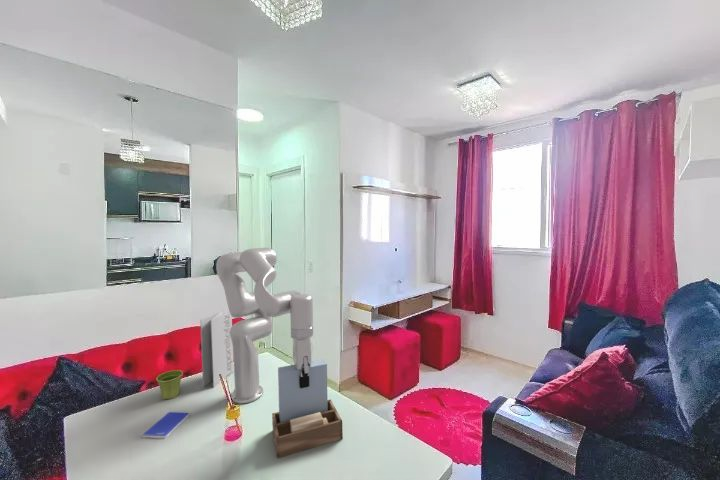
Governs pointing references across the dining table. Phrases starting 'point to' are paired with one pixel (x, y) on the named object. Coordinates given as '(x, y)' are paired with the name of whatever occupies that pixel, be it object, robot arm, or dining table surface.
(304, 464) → the dining table surface
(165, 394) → the plant pot
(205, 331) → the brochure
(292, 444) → the brown wooden open box
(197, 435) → the dining table surface
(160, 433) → the hard drive
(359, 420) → the dining table surface
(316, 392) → the panel
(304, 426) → the offcut stack
